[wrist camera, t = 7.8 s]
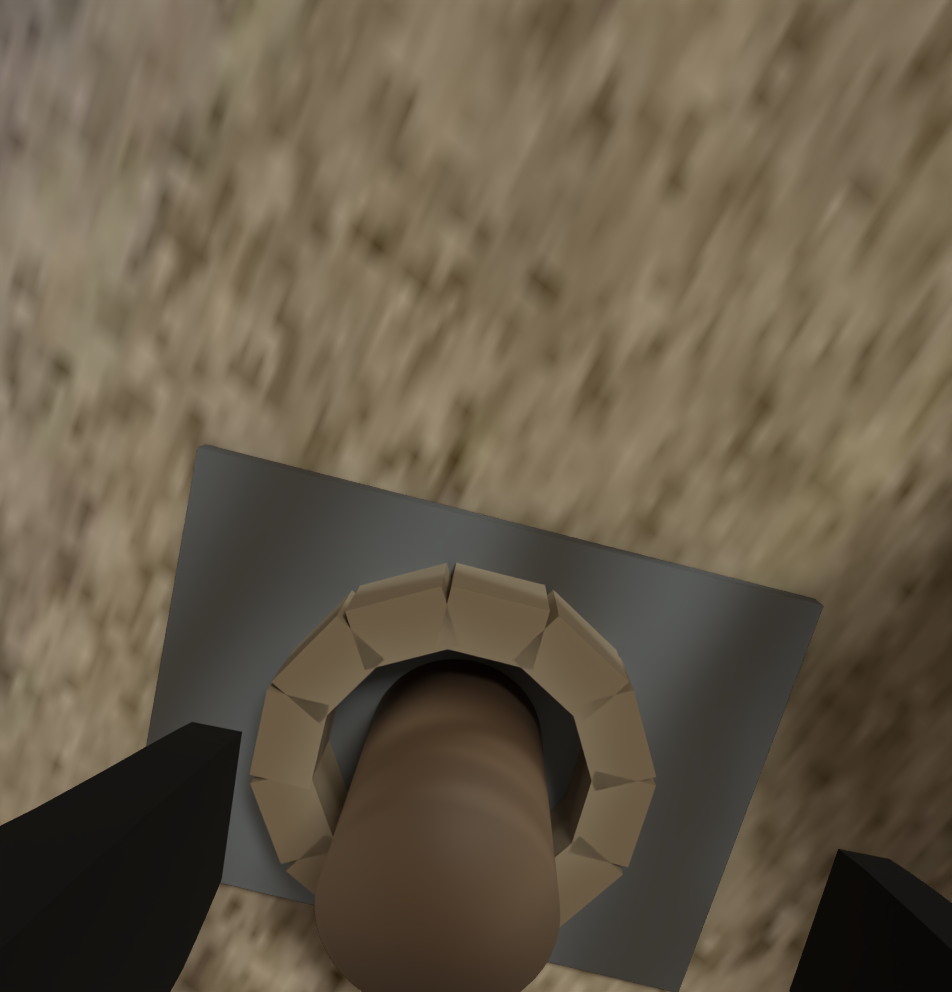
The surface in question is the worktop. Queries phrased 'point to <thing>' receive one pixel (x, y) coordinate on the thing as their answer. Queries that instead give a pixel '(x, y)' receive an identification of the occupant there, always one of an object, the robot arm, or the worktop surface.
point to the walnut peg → (444, 841)
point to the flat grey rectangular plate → (491, 641)
